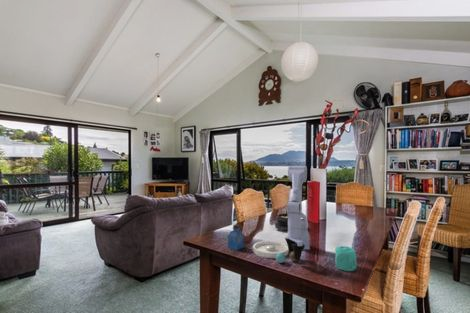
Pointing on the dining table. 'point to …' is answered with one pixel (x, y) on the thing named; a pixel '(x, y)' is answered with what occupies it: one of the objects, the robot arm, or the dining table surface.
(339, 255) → the decorative dice
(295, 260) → the walnut bead
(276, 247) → the tray
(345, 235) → the dining table surface
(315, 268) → the dining table surface
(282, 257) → the teal bead
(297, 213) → the robot arm
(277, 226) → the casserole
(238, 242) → the perfume bottle
